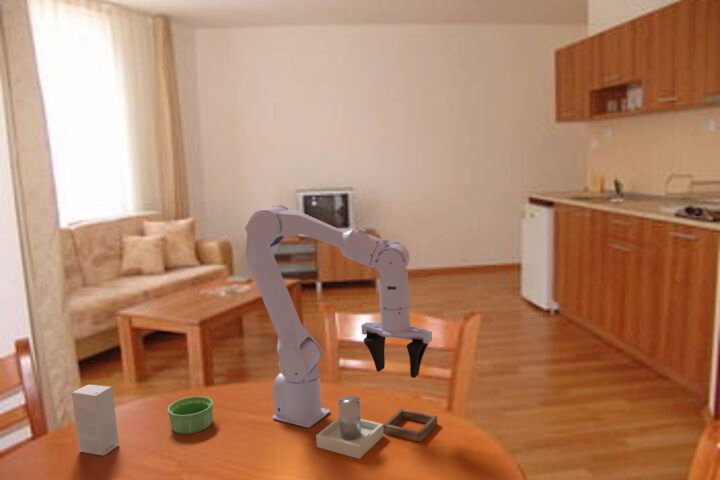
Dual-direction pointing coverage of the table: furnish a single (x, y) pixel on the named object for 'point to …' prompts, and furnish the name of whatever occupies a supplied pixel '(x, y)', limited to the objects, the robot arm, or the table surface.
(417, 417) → the walnut collar
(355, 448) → the beige shallow square tray
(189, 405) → the ramekin
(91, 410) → the skincare box
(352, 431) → the dowel pin
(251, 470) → the table surface
